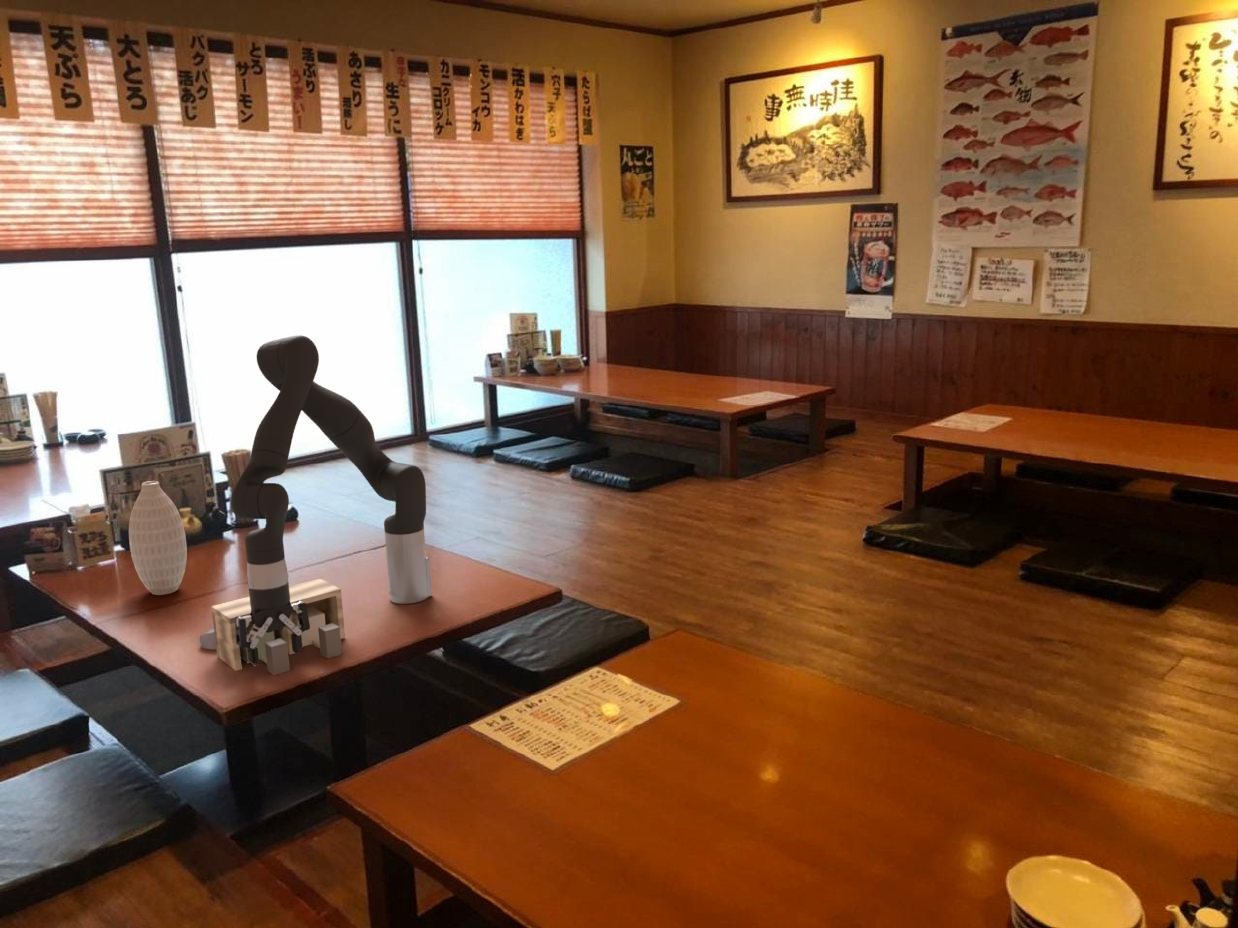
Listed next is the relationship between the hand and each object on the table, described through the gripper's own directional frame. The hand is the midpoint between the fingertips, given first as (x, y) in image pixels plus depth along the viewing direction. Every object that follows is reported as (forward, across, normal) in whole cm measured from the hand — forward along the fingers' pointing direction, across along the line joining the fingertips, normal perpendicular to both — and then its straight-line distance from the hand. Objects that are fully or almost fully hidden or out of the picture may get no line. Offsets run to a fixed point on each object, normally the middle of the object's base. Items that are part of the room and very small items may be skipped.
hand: (276, 658), depth 198 cm
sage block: (+3, 0, -6) cm, 7 cm away
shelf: (+3, -6, -11) cm, 13 cm away
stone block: (+3, 0, -24) cm, 24 cm away
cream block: (+3, -12, -6) cm, 13 cm away
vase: (+3, 0, -68) cm, 68 cm away
